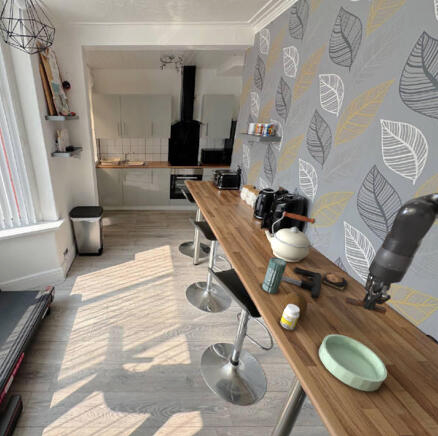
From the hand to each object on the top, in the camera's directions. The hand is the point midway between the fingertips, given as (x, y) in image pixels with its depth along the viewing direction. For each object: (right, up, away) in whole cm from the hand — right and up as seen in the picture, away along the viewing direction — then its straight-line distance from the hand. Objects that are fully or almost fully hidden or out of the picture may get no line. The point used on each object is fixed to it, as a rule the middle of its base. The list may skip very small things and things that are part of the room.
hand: (366, 306), depth 77 cm
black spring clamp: (+1, -2, +34) cm, 34 cm away
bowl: (-9, -17, -3) cm, 20 cm away
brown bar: (0, 0, 0) cm, 0 cm away
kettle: (+6, +8, +57) cm, 58 cm away
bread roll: (+18, -2, +35) cm, 40 cm away
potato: (-14, -8, +17) cm, 24 cm away
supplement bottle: (-20, -11, +11) cm, 25 cm away
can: (-17, -3, +29) cm, 34 cm away
